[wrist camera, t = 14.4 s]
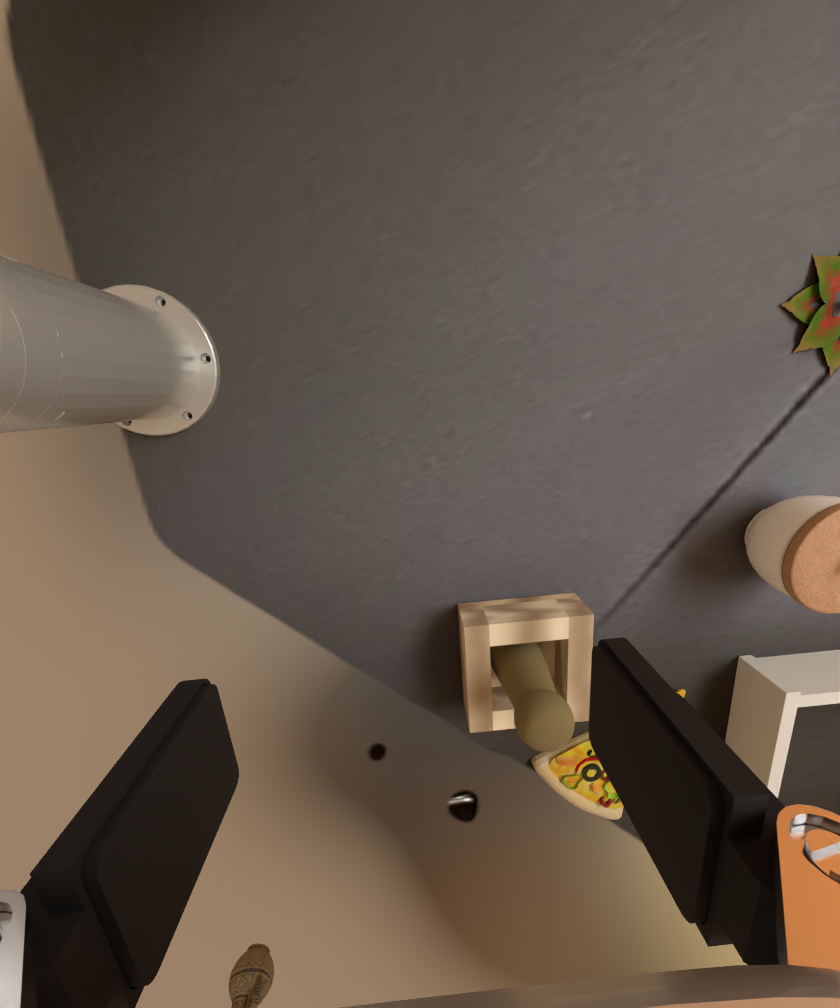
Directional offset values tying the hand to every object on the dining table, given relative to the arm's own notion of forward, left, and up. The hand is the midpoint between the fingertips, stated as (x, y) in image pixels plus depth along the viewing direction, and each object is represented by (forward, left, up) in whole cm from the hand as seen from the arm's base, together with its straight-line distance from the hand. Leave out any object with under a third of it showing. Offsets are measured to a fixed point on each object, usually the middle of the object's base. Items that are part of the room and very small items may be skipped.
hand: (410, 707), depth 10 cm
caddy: (+11, -22, -30) cm, 39 cm away
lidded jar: (+39, -10, -31) cm, 51 cm away
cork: (+10, -21, -30) cm, 38 cm away
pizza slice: (+24, -37, -31) cm, 54 cm away
